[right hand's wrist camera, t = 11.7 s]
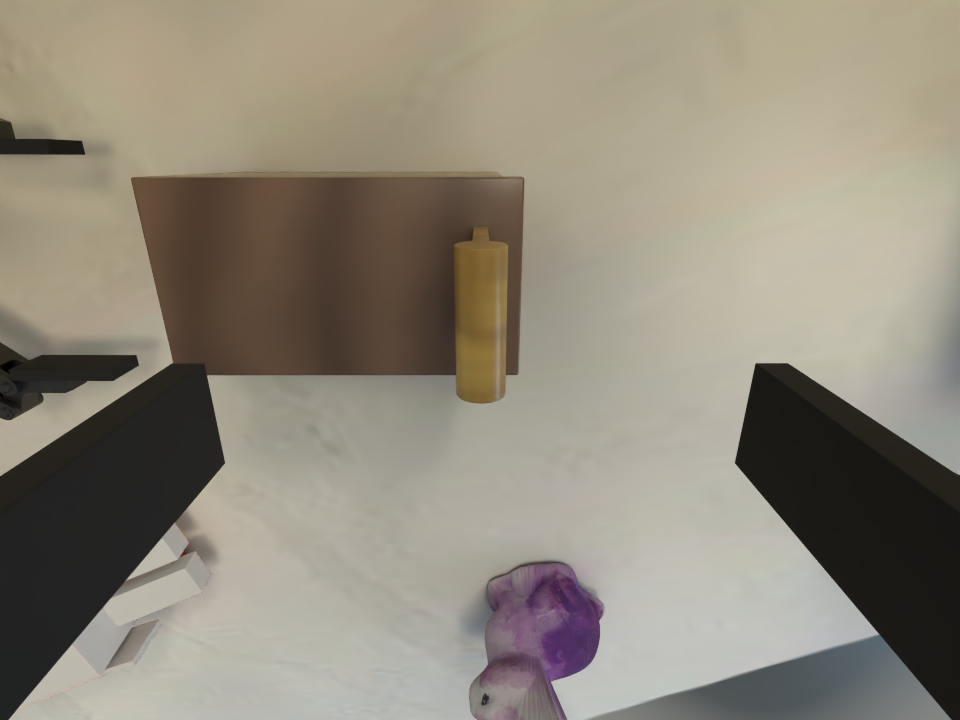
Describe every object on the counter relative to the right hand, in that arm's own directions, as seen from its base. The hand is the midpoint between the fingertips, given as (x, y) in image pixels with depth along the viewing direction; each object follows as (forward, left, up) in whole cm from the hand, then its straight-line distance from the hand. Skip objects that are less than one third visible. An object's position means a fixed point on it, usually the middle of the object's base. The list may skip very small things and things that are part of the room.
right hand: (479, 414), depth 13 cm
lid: (+4, -6, -16) cm, 17 cm away
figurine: (+26, +21, -27) cm, 43 cm away
